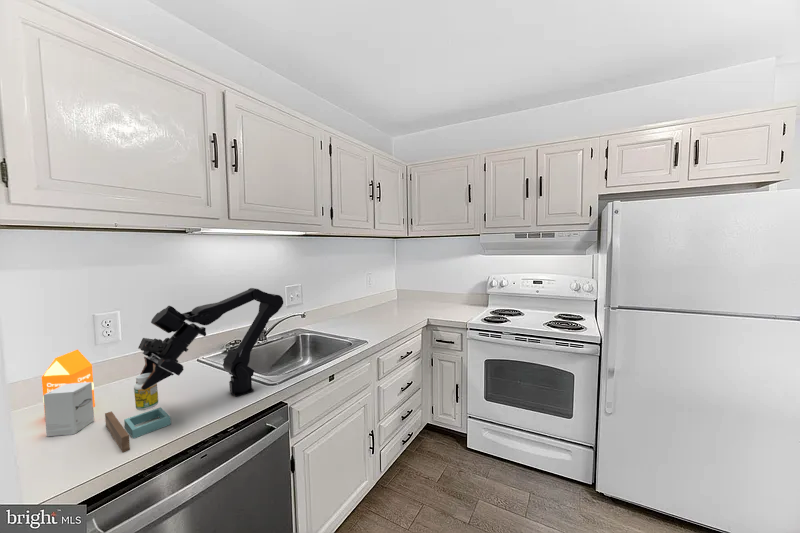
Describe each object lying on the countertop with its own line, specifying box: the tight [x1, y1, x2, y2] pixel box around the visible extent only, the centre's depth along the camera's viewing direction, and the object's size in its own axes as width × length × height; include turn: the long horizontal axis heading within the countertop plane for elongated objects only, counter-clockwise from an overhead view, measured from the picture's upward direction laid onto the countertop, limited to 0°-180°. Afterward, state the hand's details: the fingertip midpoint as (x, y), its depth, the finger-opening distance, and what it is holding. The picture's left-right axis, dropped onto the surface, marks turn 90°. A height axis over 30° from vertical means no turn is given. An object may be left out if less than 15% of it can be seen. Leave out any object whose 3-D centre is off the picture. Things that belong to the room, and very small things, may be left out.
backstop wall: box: [104, 411, 131, 453], centre depth 90 cm, size 2×20×4 cm, turn 52°
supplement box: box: [43, 382, 95, 437], centre depth 94 cm, size 7×7×13 cm
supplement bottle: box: [133, 373, 159, 411], centre depth 95 cm, size 5×5×10 cm
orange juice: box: [41, 349, 96, 413], centre depth 102 cm, size 8×9×20 cm
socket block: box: [123, 406, 172, 439], centre depth 95 cm, size 9×9×2 cm
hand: (139, 386), depth 94 cm, fingers closed on supplement bottle, 5 cm apart
